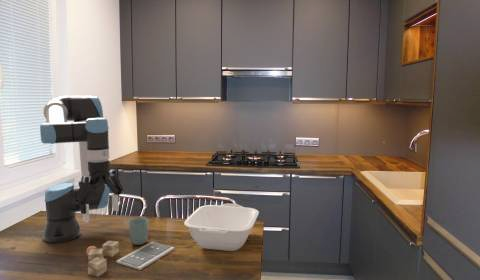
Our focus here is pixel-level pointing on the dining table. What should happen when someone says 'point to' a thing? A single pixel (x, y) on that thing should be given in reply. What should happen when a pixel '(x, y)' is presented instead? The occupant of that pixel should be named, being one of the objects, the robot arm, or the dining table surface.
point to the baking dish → (221, 226)
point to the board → (145, 255)
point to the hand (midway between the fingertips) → (101, 216)
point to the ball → (90, 249)
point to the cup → (138, 230)
